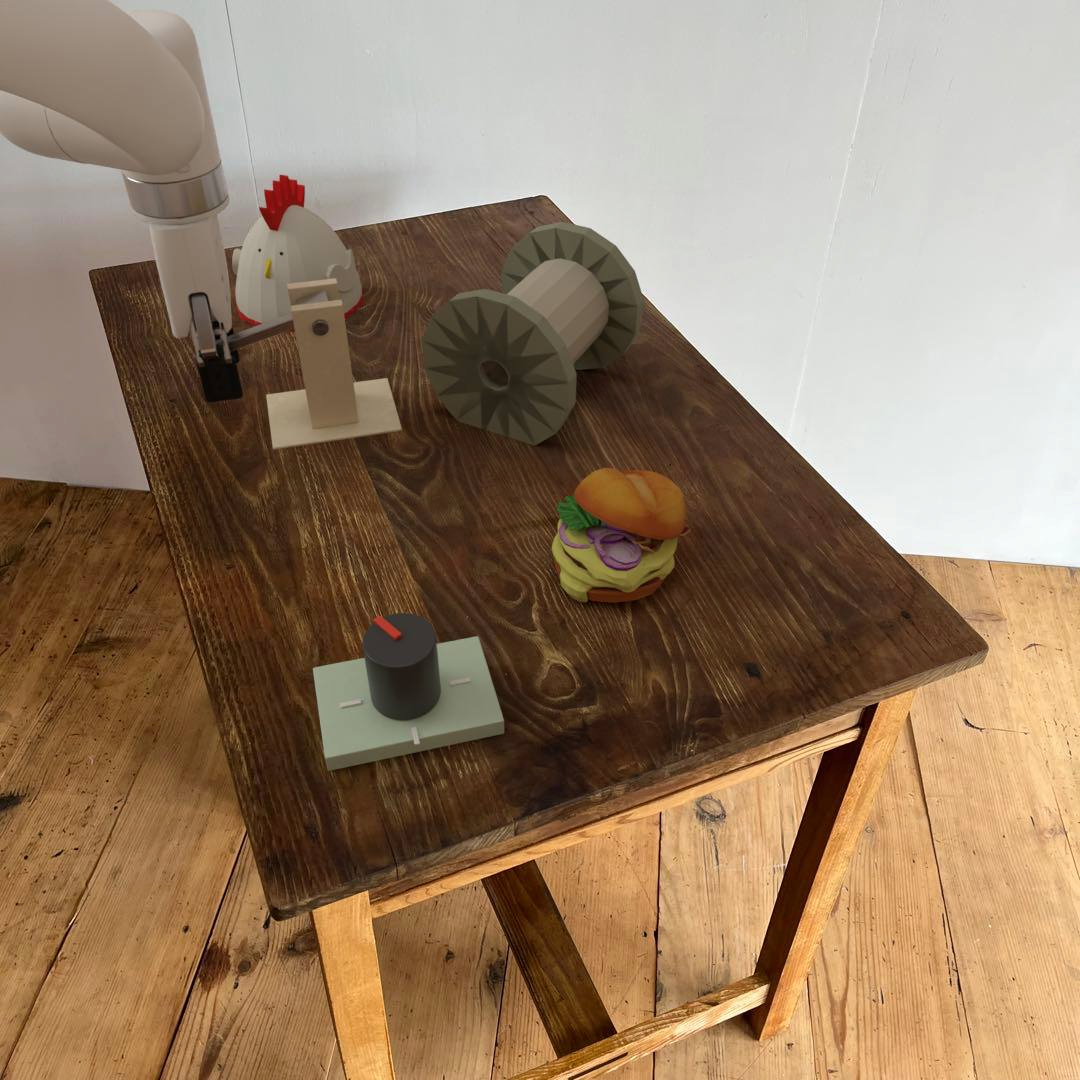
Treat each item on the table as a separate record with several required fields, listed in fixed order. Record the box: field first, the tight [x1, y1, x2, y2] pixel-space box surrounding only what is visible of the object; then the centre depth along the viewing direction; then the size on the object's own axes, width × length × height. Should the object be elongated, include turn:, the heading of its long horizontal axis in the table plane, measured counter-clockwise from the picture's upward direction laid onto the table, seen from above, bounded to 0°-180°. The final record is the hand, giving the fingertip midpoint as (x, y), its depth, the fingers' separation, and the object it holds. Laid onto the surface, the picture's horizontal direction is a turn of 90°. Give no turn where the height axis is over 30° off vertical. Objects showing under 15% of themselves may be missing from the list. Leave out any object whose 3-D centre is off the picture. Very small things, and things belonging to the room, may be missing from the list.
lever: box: [215, 290, 330, 352], centre depth 90 cm, size 12×5×2 cm, turn 105°
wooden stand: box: [265, 278, 403, 451], centre depth 94 cm, size 12×9×14 cm
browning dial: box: [361, 612, 441, 720], centre depth 68 cm, size 5×5×6 cm
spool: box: [421, 221, 645, 446], centre depth 97 cm, size 16×15×15 cm
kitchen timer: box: [231, 174, 364, 332], centre depth 110 cm, size 14×14×15 cm
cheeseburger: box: [551, 467, 691, 603], centre depth 81 cm, size 10×11×10 cm
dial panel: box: [312, 635, 505, 772], centre depth 71 cm, size 12×9×3 cm
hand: (223, 379), depth 92 cm, fingers closed on lever, 5 cm apart
